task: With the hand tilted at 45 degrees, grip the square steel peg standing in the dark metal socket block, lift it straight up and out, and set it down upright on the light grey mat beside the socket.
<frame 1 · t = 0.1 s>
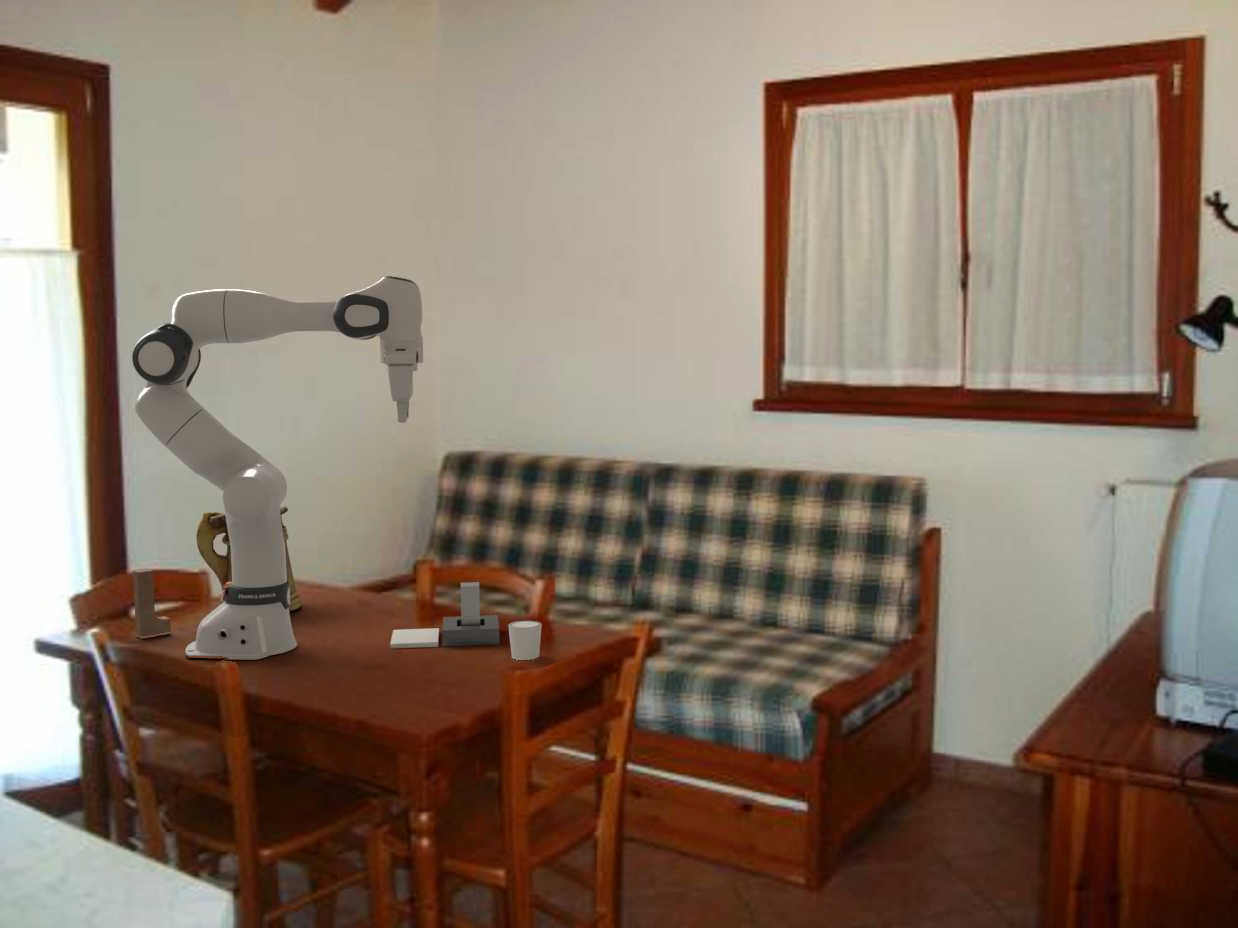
hand: (403, 420, 259), 48 cm above the table, tool pointing down, fingers open, 8 cm apart
white cup: (525, 658, 253), on the table
wooden block: (153, 636, 272), on the table
tankard: (251, 612, 295), on the table
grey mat: (415, 640, 267), on the table
steel peg: (470, 611, 268), in the metal socket
metal socket: (471, 638, 268), on the table
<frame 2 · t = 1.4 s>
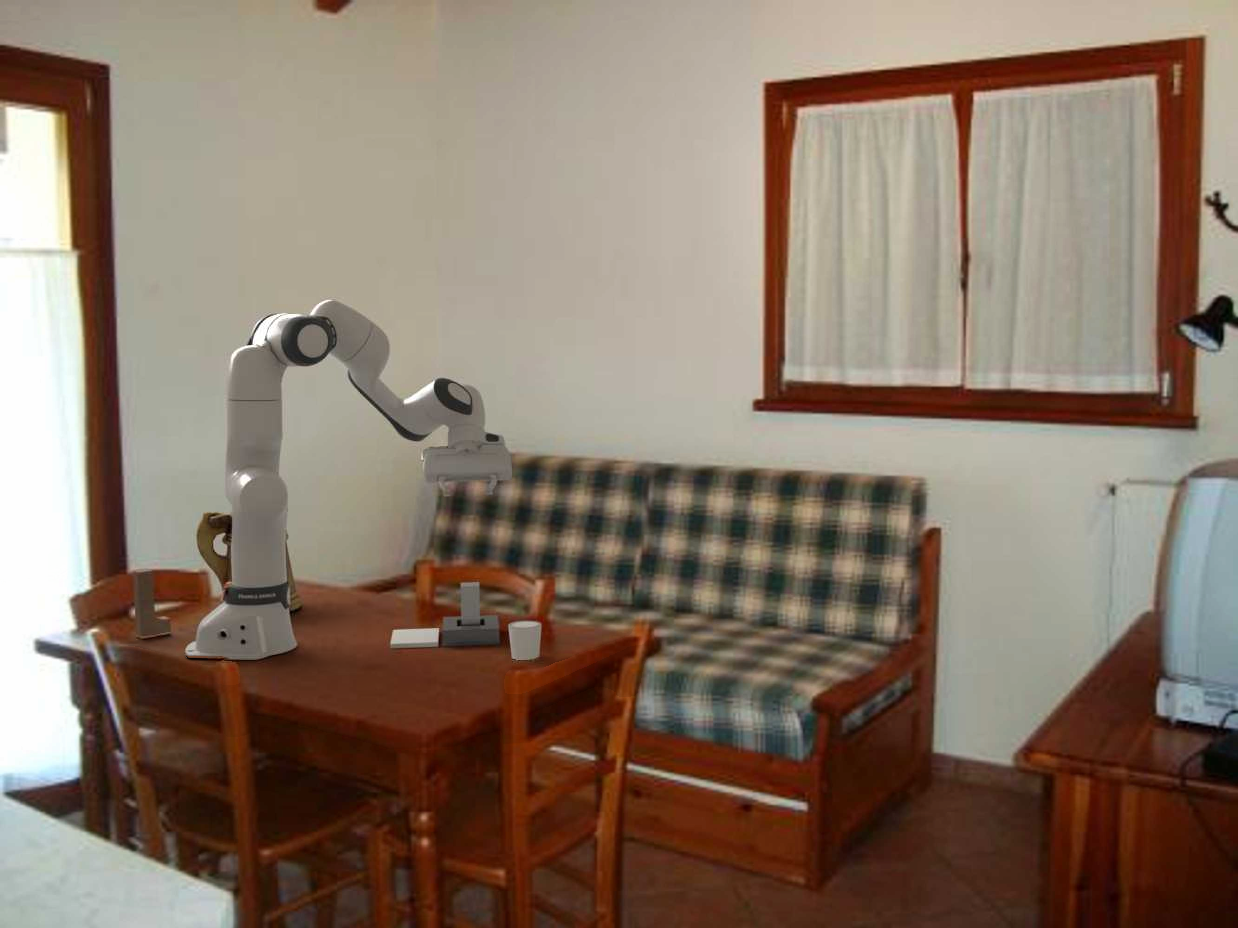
hand: (468, 493, 277), 30 cm above the table, tool tilted 45°, fingers open, 8 cm apart
nothing on the table moved.
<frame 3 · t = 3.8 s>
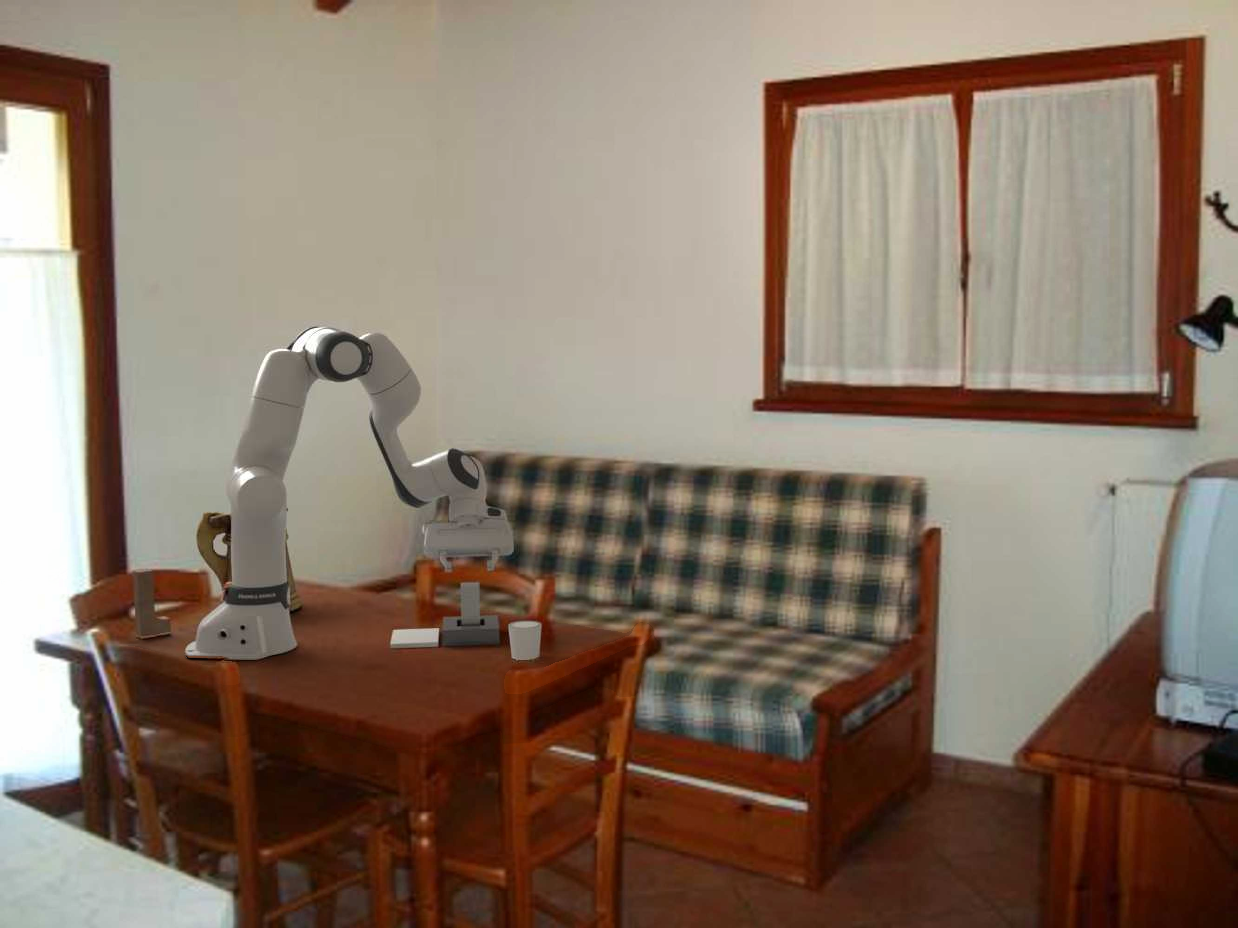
hand: (469, 569, 275), 14 cm above the table, tool tilted 45°, fingers open, 8 cm apart
nothing on the table moved.
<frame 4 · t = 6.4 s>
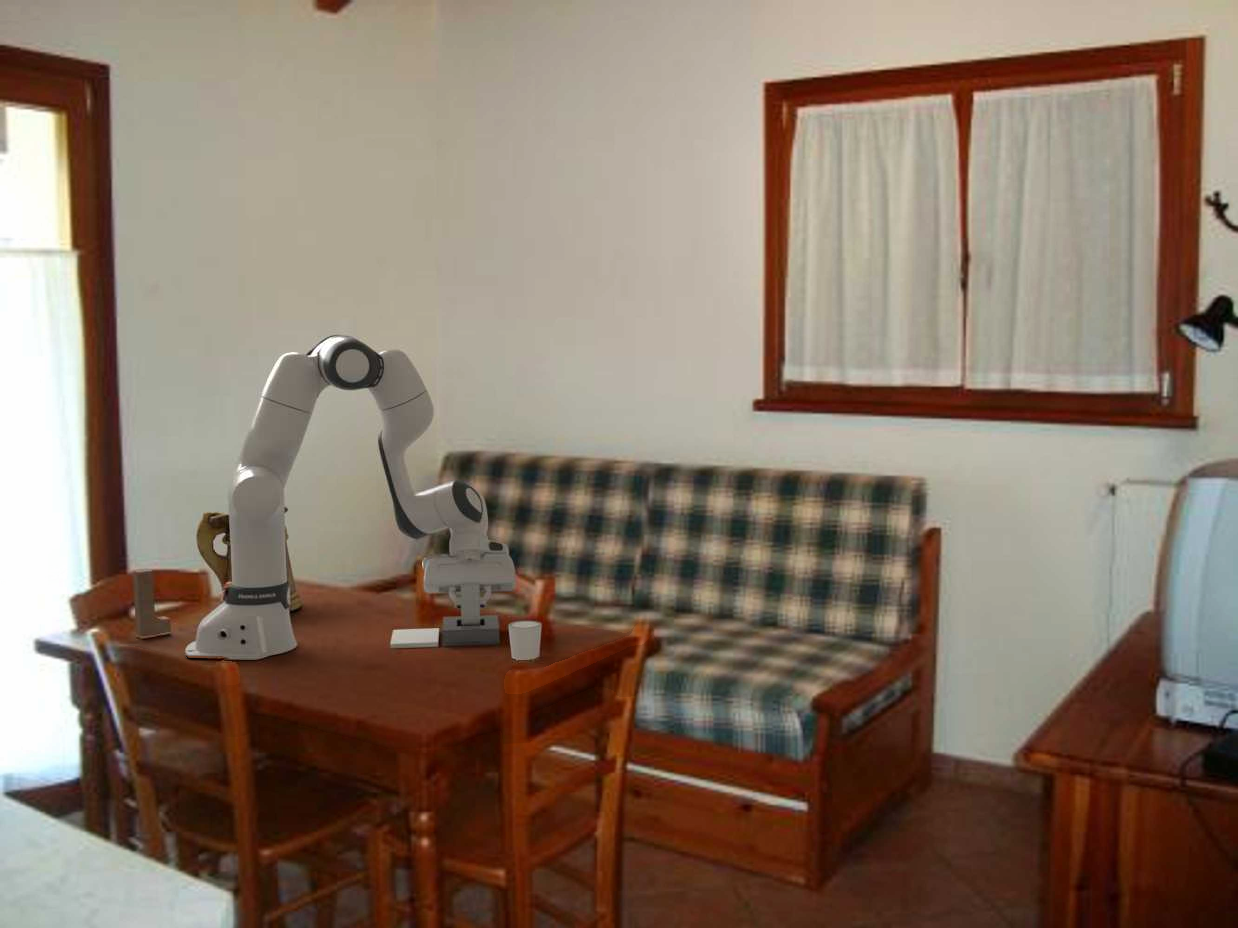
hand: (470, 606, 267), 7 cm above the table, tool tilted 45°, fingers closed on steel peg, 4 cm apart
steel peg: (470, 611, 268), in the metal socket, touching gripper
everything else where it was.
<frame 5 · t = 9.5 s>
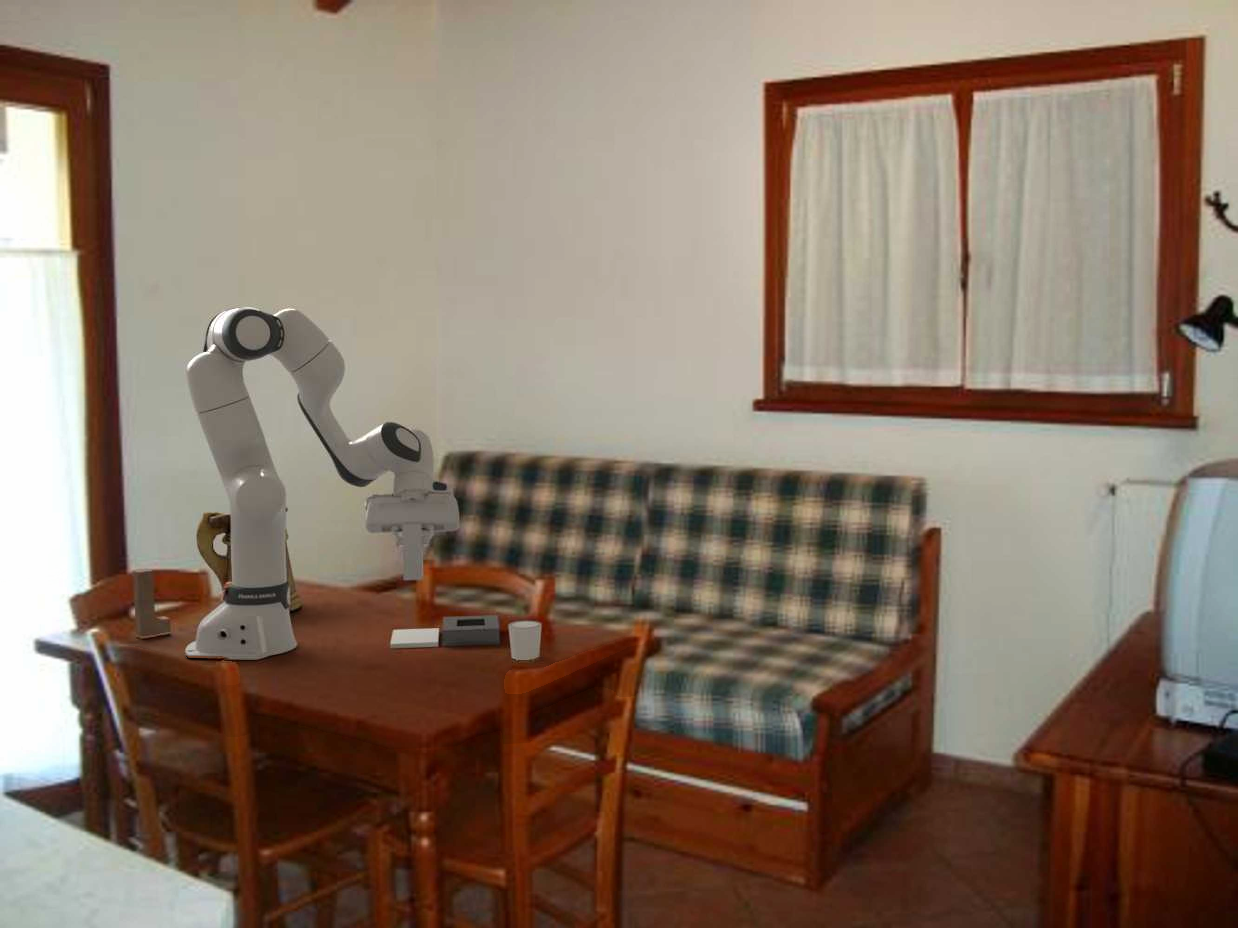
hand: (412, 545, 264), 21 cm above the table, tool tilted 45°, fingers closed on steel peg, 4 cm apart
steel peg: (412, 550, 265), point 20 cm above the table, touching gripper
everything else where it was.
when the fingers open (9 cm above the table, at t = 12.8 s): steel peg stays where it is, resting on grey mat.
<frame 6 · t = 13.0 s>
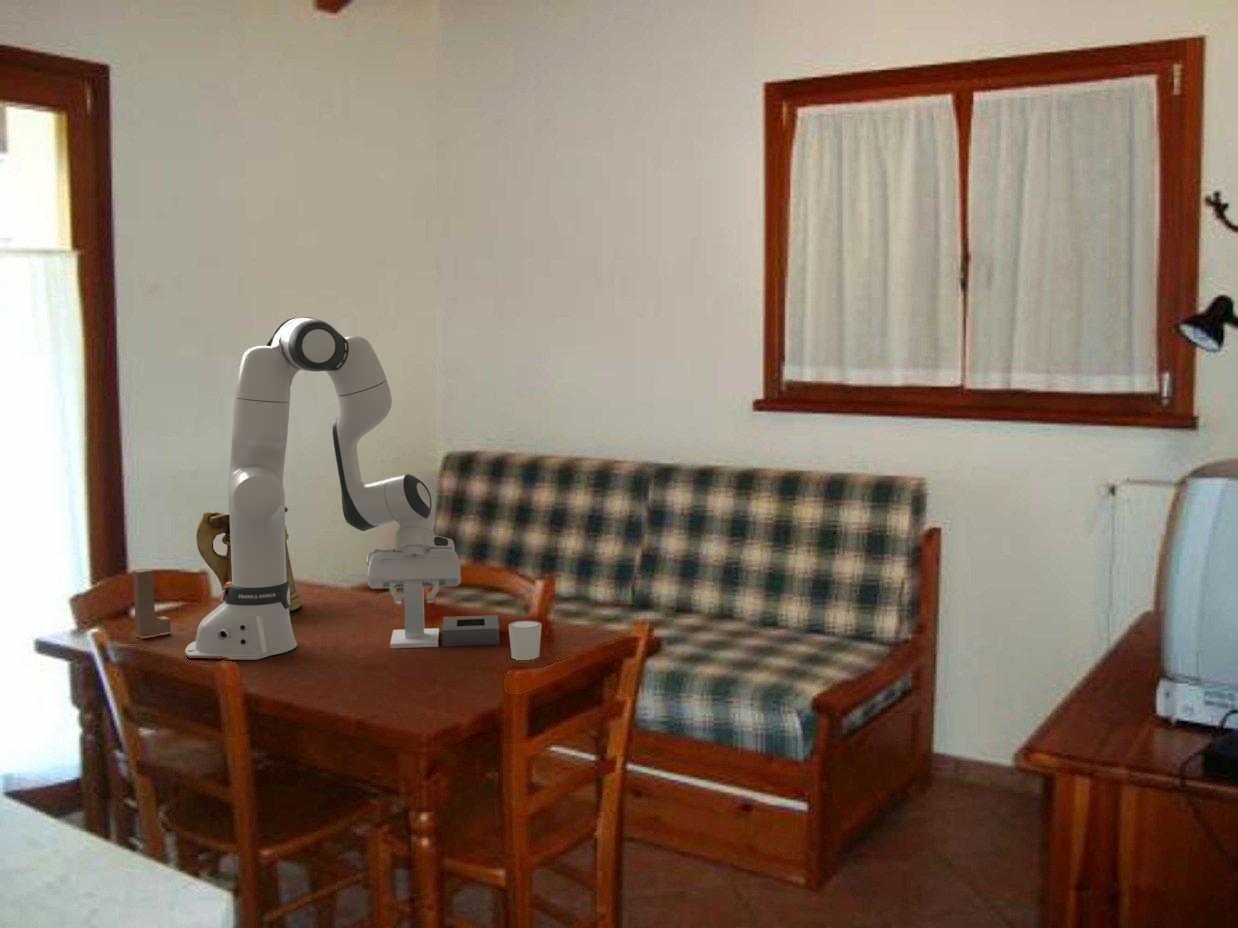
hand: (414, 601, 265), 9 cm above the table, tool tilted 45°, fingers open, 5 cm apart
steel peg: (414, 608, 266), on the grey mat, point 7 cm above the table
everything else where it was.
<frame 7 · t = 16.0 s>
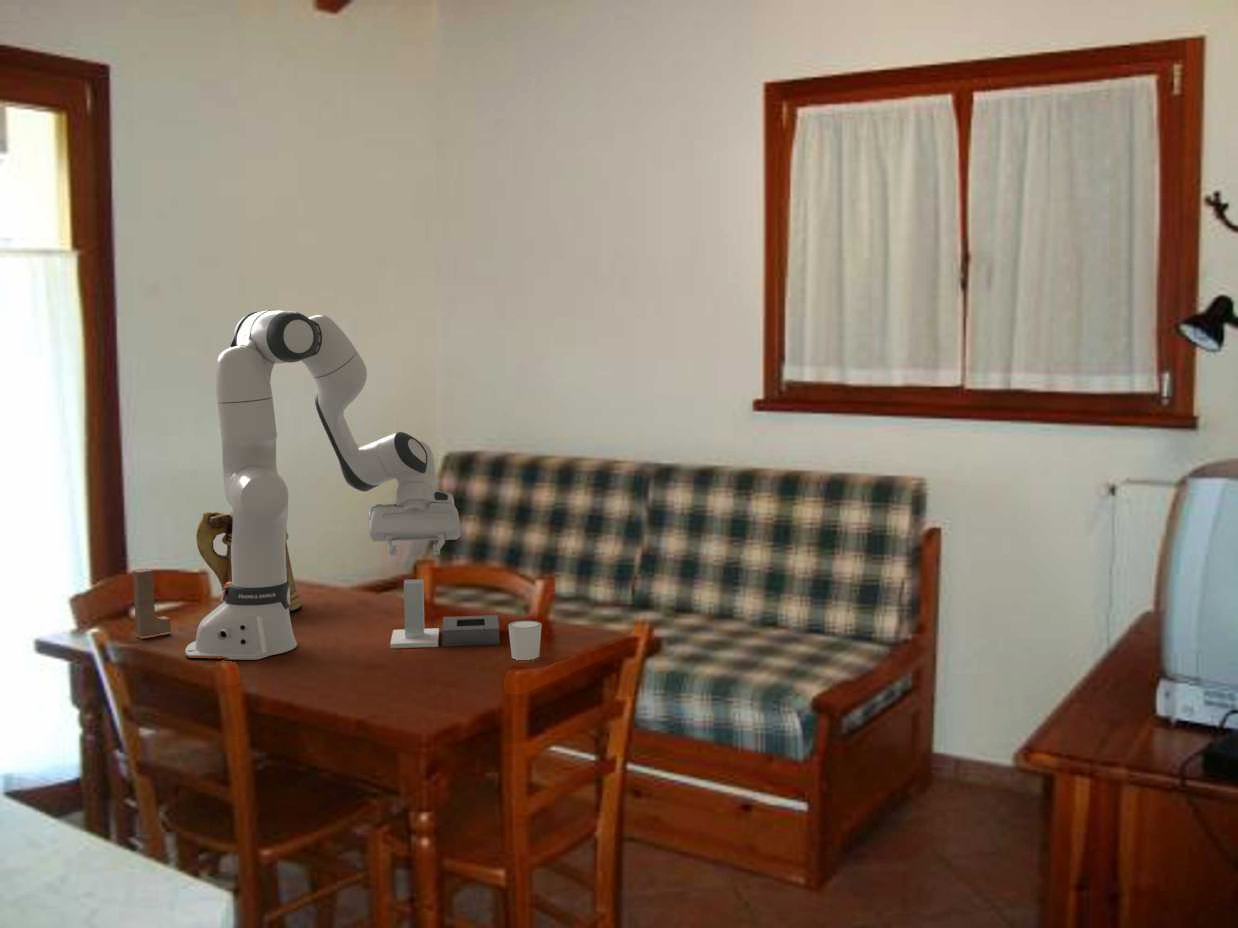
hand: (414, 553, 273), 17 cm above the table, tool tilted 45°, fingers open, 8 cm apart
nothing on the table moved.
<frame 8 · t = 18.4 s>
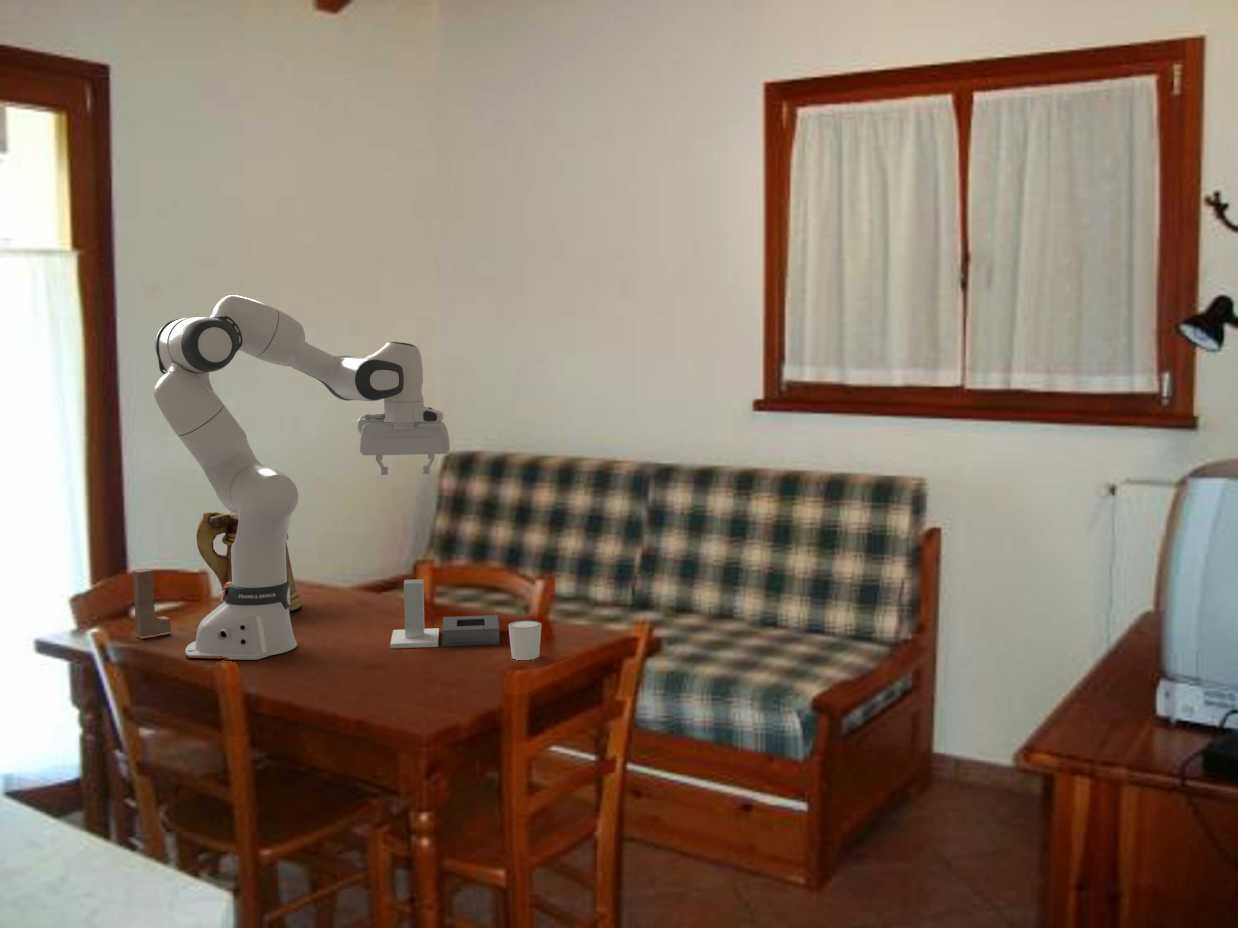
hand: (405, 474, 280), 34 cm above the table, tool pointing down, fingers open, 8 cm apart
nothing on the table moved.
at the end: steel peg inside the target area on the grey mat (0.1 cm from its centre), point 7.0 cm above the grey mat's base; steel peg tilted 0°; the gripper is holding nothing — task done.
